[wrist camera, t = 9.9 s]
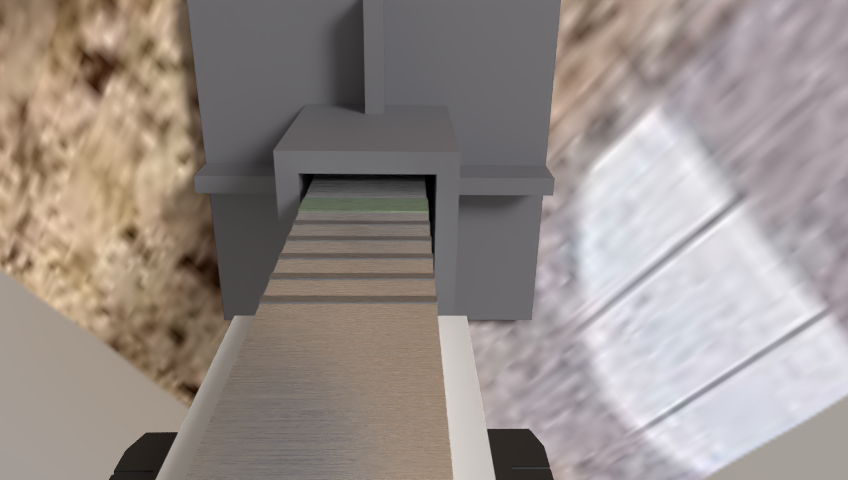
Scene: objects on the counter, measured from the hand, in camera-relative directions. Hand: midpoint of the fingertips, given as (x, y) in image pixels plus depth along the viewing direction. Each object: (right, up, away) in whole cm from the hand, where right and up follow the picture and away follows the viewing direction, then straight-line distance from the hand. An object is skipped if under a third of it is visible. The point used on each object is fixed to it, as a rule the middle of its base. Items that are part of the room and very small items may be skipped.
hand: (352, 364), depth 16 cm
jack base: (0, +7, +16) cm, 17 cm away
